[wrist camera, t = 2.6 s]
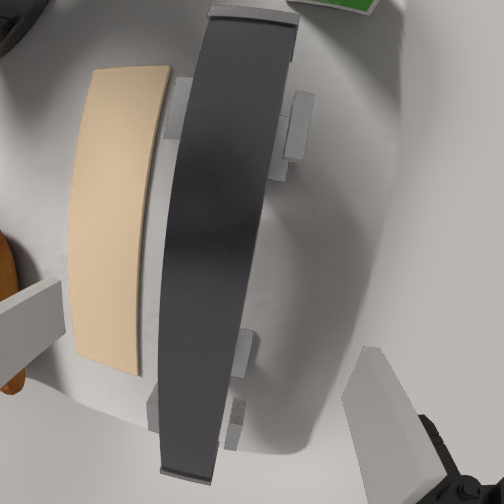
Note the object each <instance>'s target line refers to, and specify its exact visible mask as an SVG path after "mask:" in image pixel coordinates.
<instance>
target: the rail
mask: <svg viewBox="0 0 504 504" xmlns="http://www.w3.org/2000/svg"><path fill="white" fill-rule="evenodd" d="M207 17H208V19H209V23H208V27H207V30H206V33H205V37H204V40H203V44H202V47H201V51H200V55H199V58H198V62H197V66H196V70H195V74H194V78H193V82H192V86H191V90H190V95H189V99H188V104H187V108H186V113H185V117H184V122H183V127H182V132H181V138H180V143H179V148H178V154H177V160H176V166H175V172H174V178H173V184H172V191H171V198H170V205H169V213H168V221H167V229H166V238H165V248H164V258H163V269H162V282H161V296H160V313H159V337H158V413H159V436H160V451H161V468H160V473H161V474H164V475H168V476H171V477H175V478H179V479H183V480H187V481H191V482H195V483H200V484H205V485H211V481H212V476H213V471H214V466H215V461H216V456H217V451H218V446H219V441H218V439H219V434H220V429H221V424H222V419H223V413H224V408H225V403H226V398H227V393H228V387H229V382H230V377H231V372H232V366H233V361H234V356H235V351H236V345H237V340H238V335H239V330H240V324H241V319H242V314H243V309H244V303H245V298H246V293H247V287H248V282H249V277H250V272H251V266H252V261H253V256H254V250H255V245H256V240H257V234H258V229H259V224H260V219H261V213H262V208H263V203H264V197H265V192H266V187H267V181H268V176H269V171H270V165H271V160H272V154H273V149H274V144H275V138H276V133H277V128H278V122H279V117H280V111H281V106H282V101H283V95H284V90H285V84H286V79H287V74H288V68H289V63H290V62H292V57H293V52H294V46H295V41H296V35H297V30H298V25H299V19H300V14H296V13H290V12H284V11H277V10H269V9H261V8H251V7H238V6H217V5H210V8H209V11H208V14H207Z"/></svg>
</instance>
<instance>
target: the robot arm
mask: <svg viewBox="0 0 504 504" xmlns="http://www.w3.org/2000/svg"><path fill="white" fill-rule="evenodd" d="M47 1H48V0H0V57H1V56H3V55H4V54H5V53H7V52H8V51H9V50H10V49H11V48H12V47H13V46H14V45H15V44H16V43H17V42H18V41H19V40H20V39H21V38H22V37H23V35H24V34H25V33H26V32H27V31H28V29H29V28H30V27H31V25H32V24H33V23H34V21H35V20H36V19H37V17H38V16H39V14H40V13H41V11H42V10H43V8H44V6H45V5H46V3H47ZM65 333H66V330H65V322H64V313H63V303H62V289H61V280H59V279H56V278H53V277H50V276H49V277H47V278H45V279H43V280H41V281H39V282H37V283H35V284H33V285H32V286H30V287H28V288H26V289H24V290H22V291H20V292H18V293H16V294H14V295H12V296H10V297H9V298H7V299H5V300H3V301H1V302H0V388H2V387H3V386H4V385H5V384H6V383H7V382H8V381H9V380H11V379H12V378H13V377H14V376H15V375H16V374H17V373H18V372H20V371H21V370H22V369H23V368H24V367H25V366H27V365H28V364H29V363H30V362H31V361H32V360H34V359H35V358H36V357H37V356H38V355H39V354H41V353H42V352H43V351H44V350H45V349H47V348H48V347H49V346H50V345H51V344H53V343H54V342H55V341H56V340H58V339H59V338H60V337H61V336H62V335H64V334H65ZM341 398H342V401H343V405H344V408H345V412H346V416H347V420H348V423H349V427H350V431H351V435H352V438H353V441H354V446H355V450H356V454H357V458H358V462H359V466H360V470H361V474H362V478H363V483H364V487H365V491H366V496H367V500H368V504H504V477H503V478H502V479H501V480H500V481H499V482H498V483H497V484H496V485H481V484H480V483H479V481H478V480H477V479H475V478H474V477H472V476H468V475H460V473H459V471H458V469H457V467H456V465H455V463H454V461H453V459H452V457H451V455H450V453H449V451H448V449H447V447H446V445H445V444H443V440H442V438H441V436H439V432H438V431H437V429H436V427H435V425H434V423H432V422H431V421H430V420H429V419H428V418H427V417H426V416H425V415H417V413H416V411H415V409H414V408H413V406H412V404H411V402H410V400H409V399H408V397H407V395H406V393H405V391H404V389H403V388H402V386H401V384H400V382H399V380H398V379H397V377H396V375H395V373H394V372H393V370H392V368H391V366H390V365H389V363H388V361H387V360H386V358H385V356H384V355H383V353H382V351H381V349H380V348H375V347H374V348H373V347H365V346H363V348H362V351H361V353H360V356H359V358H358V361H357V363H356V366H355V368H354V370H353V372H352V375H351V377H350V379H349V382H348V384H347V386H346V388H345V390H344V393H343V395H342V397H341Z"/></svg>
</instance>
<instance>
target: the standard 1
mask: <svg viewBox="0 0 504 504" xmlns="http://www.w3.org/2000/svg"><path fill="white" fill-rule="evenodd" d="M253 336H254V331H252V330H246V329H241V328H240V330H239V335H238V340H237V345H236V351H235V356H234V361H233V366H232V372H231V376H234V377H239V378H244V377H245V372H246V368H247V363H248V359H249V354H250V350H251V345H252V341H253ZM245 403H246V399H240V398H235V397H234V401H233V405H232V410H231V415H230V419H229V424H228V429H227V435H226V441H225V446H224V449H227V450H233V451H236V449H237V445H238V441H239V438H240V434H241V430H242V427H243V420H244V412H245ZM146 404H147V418H148V430H149V431H153V432H156V433H159V413H158V382H157V383H156V385H155V387H154V389H153V391H152V393H151V395H150V397H149V399H148V401H147V402H146Z"/></svg>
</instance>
